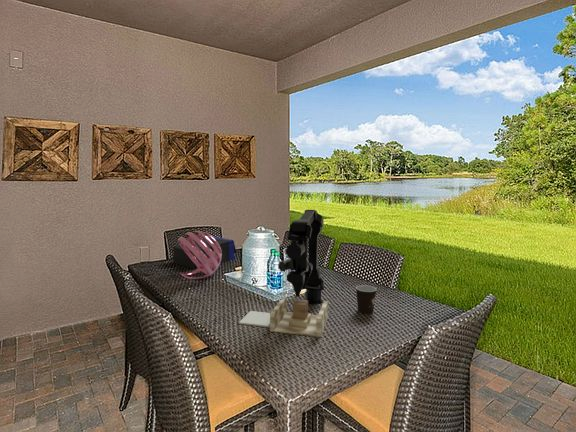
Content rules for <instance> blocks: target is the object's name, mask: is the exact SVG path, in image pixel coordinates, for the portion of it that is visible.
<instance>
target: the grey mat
mask: <svg viewBox="0 0 576 432" xmlns="http://www.w3.org/2000/svg"><path fill="white" fill-rule="evenodd" d="M270 313H271V312H265V311H263V312H262V311H255V310H254V311H253V310H250V311H249V312H247V314H246V315H245V316H244V317H243V318H242V319H241V320H240V321H239V322H238V323H239V325H245V326H246V325H247V326H248V325H249V326H255V327H262V328H270Z"/></svg>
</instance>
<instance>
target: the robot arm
mask: <svg viewBox="0 0 576 432" xmlns="http://www.w3.org/2000/svg"><path fill="white" fill-rule="evenodd" d="M324 223H325V222H324V217H323V215H321V214H320V213H318V211H317V210H316V209H305V210H304V213H303V214H302V215H301V217H300V218H299V219H295V220H293V221H292V222H291V223H290V225H289V228H288V229H289V230H288V234H287V241H290V244H288V245H287V247H286V248H285V254H286V256H287V257H288V258H289V259H286V260H282V261H279V263H278V264H277V265H278V266H277V269H278V270H279V272H281V273H283V272H284V271H287V270H290V271H289V273H288V274H287V275H286V281H287V282H289V283H290V284H292V288H293V291H294V295H295V298H296V297H297V298H299V297H300V294H301V292H302V290H305V292H304V300H308V305H315V304H321V303H322V304H323V300H322V291H324V290H325V283H324V280H323V279H324V278H323V277H322V272H321V270H320V268H319V236H320V234H321V233H322V231H323V228H324Z"/></svg>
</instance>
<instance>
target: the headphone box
mask: <svg viewBox="0 0 576 432" xmlns="http://www.w3.org/2000/svg"><path fill="white" fill-rule="evenodd" d="M213 237H214V239H215V240H216V241H217V242H218V244H219V245H220V247H221V251H222V258H221V262H220V264H223V263H226V261H228V262H231V261H230V260H232V261H235V254H237V253H238V252H237V248H236V246H235V242H234V239H229V238H224V237H218V236H213ZM209 238H210V239H211V241H212V242H213V243H214V244H216V243H215V242H214V241H213V239H212V238H211V237H210V236H209ZM202 239H203V241H204V242H205V243H206V245H207V246H208V247H209V248H210V249H211V250H212V251H214V249H213V248H212V246H211V245H210V244H209V243H208V242H207V241H206V240H205V239H204V238H202ZM193 241H194V242H195V244H196V245H197V246H198V248H199V249H200V250H201V251H202V252H203V254H204V255H205V256H206V257H207V258H209V256H208V255H207V253H206V252H205V251H204V250H203V249H202V247H201V246H200V245H199V244H198V243H197V242H196V241H195V240H193ZM186 247H187V246H186ZM217 247H218V246H217ZM187 248H188V247H187ZM218 248H219V247H218ZM188 250H189V251H190V252H191V253H192V251H191V250H190V249H189V248H188ZM172 251H173V252H172V255H173V264H175V265H179V266H182V265H183V266H182V267H185V266H186V268H189V267H190V268H189V269H192V268H193V269H192V270H196V269H197V268H198V267H197V266H196V264H195V263H194V262H193V261H192V260H191V259H190V258H189V256H188V255H187V254H186V253H185V251H184V250H183V249H182V247H181V246H180V244H179V245H176V246H173V247H172ZM192 255H193V256H194V257H195V258H196V259H197V260H198V258H197V257H196V256H195V255H194V254H193V253H192ZM216 255H217V253H216ZM217 256H218V255H217ZM198 261H199V260H198ZM217 262H218V263H219V261H218V260H217ZM199 263H200V264H202V263H201V262H200V261H199ZM212 263H213V262H212Z"/></svg>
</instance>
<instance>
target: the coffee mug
mask: <svg viewBox="0 0 576 432" xmlns="http://www.w3.org/2000/svg"><path fill="white" fill-rule="evenodd" d="M355 292H356V301H357V311H358V312H359V313H360V314H363V315H365V314H366V315H368V314H373V313H374V310H375V309H374V308H375V301H376V296H377V288H376V287H374V286H371V285H364V284H362V285H357V286H356V287H355Z"/></svg>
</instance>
